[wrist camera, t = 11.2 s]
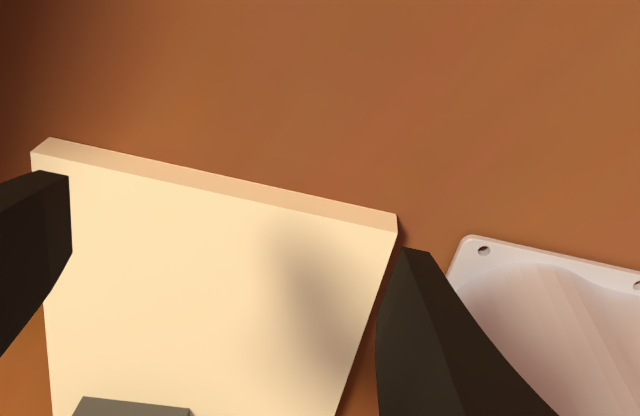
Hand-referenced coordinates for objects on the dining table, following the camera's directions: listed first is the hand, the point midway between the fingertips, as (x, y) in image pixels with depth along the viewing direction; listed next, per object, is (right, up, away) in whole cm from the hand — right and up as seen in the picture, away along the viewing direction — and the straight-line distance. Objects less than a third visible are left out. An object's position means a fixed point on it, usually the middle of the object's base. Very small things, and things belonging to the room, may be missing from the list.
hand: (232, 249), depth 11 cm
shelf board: (-5, -8, +17) cm, 19 cm away
